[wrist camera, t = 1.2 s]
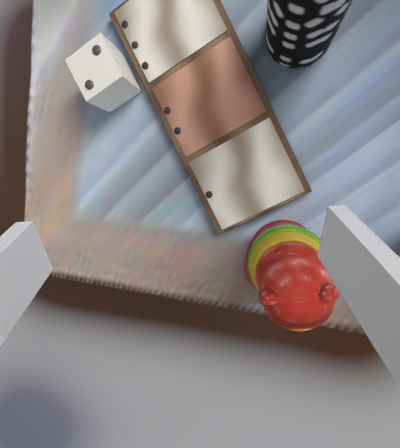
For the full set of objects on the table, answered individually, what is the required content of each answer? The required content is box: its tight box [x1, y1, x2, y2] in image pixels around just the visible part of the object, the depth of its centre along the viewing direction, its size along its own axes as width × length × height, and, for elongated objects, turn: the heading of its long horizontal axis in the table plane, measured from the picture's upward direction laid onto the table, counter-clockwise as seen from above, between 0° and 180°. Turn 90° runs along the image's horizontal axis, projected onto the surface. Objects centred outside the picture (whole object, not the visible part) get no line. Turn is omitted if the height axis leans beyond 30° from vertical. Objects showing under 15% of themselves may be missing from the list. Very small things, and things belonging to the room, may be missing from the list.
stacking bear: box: [246, 220, 340, 332], centre depth 31 cm, size 11×10×18 cm
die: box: [65, 33, 142, 113], centre depth 38 cm, size 6×6×6 cm
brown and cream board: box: [109, 0, 312, 234], centre depth 38 cm, size 14×35×1 cm, turn 27°
